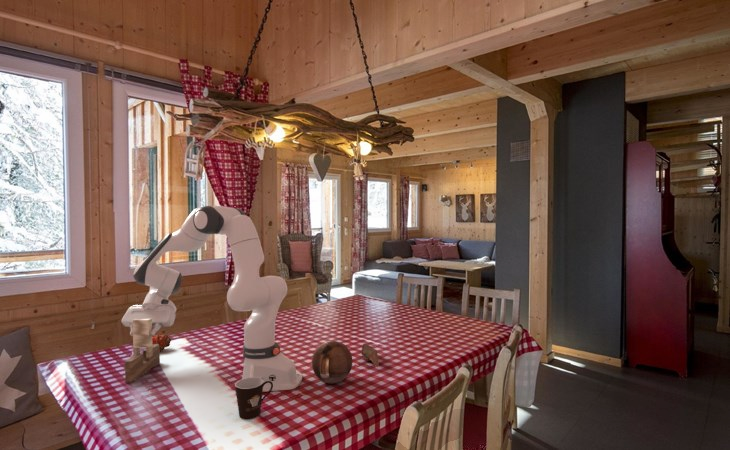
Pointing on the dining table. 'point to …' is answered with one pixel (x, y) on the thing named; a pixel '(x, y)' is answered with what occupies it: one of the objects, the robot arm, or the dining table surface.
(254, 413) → the coffee mug
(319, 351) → the wooden sphere
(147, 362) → the walnut slotted plate
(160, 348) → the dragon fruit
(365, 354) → the bird sculpture
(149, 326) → the ash slotted plate
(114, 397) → the dining table surface
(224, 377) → the dining table surface
